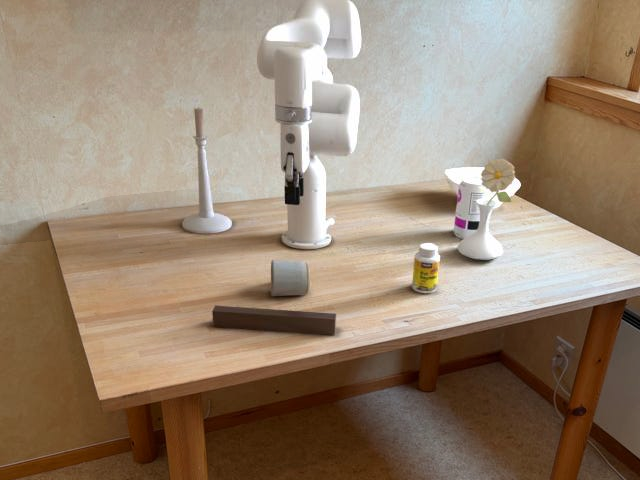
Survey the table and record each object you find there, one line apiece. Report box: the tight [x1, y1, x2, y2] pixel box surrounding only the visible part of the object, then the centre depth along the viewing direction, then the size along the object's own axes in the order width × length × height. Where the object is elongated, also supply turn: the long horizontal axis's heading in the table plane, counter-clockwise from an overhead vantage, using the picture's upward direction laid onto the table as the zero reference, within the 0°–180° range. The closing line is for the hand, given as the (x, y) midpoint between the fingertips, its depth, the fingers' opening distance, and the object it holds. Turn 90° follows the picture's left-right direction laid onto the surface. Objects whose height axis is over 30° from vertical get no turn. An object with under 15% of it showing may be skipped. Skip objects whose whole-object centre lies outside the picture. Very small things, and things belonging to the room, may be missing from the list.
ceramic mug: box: [270, 259, 311, 297], centre depth 149 cm, size 11×8×8 cm
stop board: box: [211, 304, 337, 336], centre depth 135 cm, size 2×24×4 cm, turn 87°
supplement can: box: [453, 177, 490, 240], centre depth 181 cm, size 8×8×15 cm
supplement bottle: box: [411, 242, 441, 294], centre depth 152 cm, size 6×6×10 cm
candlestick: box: [181, 106, 233, 235], centre depth 175 cm, size 13×13×30 cm
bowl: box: [444, 166, 521, 209], centre depth 205 cm, size 21×21×9 cm
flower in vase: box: [457, 157, 516, 261], centre depth 166 cm, size 13×11×25 cm
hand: (294, 199), depth 150 cm, fingers open, 5 cm apart
